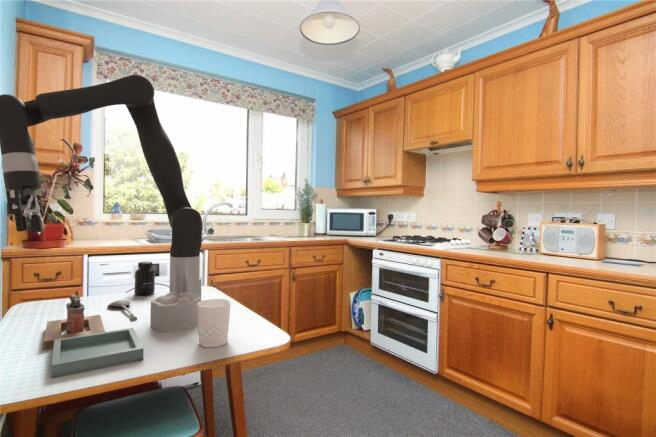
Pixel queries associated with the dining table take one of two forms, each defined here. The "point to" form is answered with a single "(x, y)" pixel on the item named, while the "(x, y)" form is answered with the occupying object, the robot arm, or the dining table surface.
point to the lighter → (74, 315)
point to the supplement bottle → (144, 279)
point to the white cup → (213, 322)
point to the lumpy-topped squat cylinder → (174, 312)
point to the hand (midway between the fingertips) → (30, 231)
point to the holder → (55, 333)
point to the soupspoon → (122, 304)
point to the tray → (95, 351)
